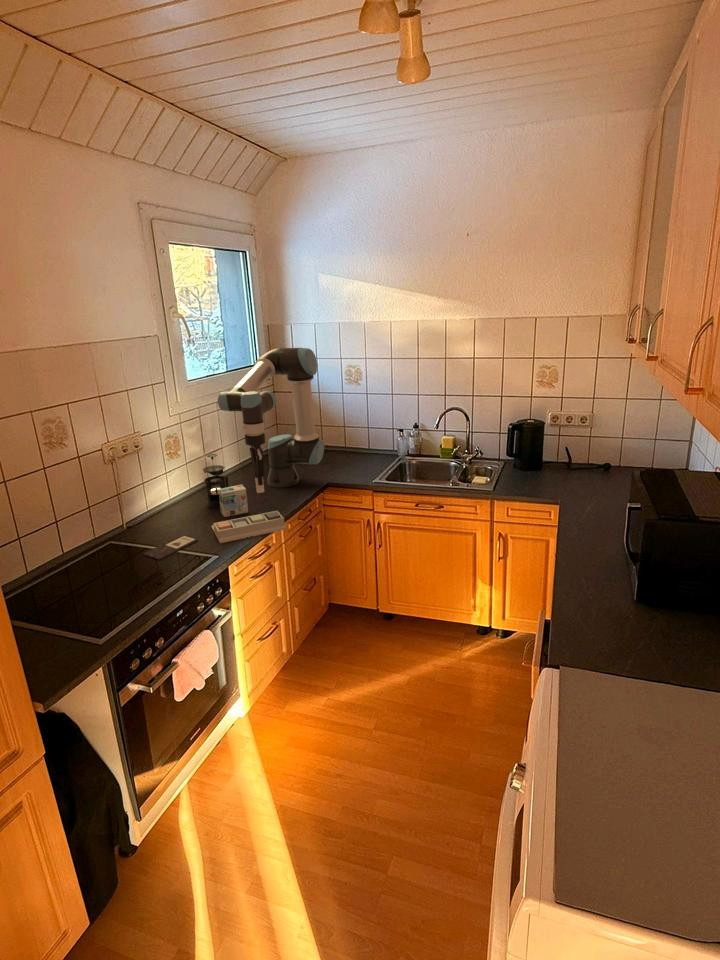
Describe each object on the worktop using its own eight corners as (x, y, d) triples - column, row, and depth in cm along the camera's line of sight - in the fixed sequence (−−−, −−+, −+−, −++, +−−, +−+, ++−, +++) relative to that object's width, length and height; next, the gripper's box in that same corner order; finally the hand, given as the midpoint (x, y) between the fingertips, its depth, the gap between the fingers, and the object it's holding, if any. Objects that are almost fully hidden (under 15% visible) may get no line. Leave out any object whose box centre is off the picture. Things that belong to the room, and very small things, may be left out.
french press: (215, 510, 241) (209, 459, 234) (201, 506, 247) (194, 456, 239) (236, 501, 250) (230, 452, 243) (222, 498, 256) (216, 449, 248)
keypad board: (274, 515, 234) (273, 506, 233) (286, 529, 220) (285, 519, 219) (211, 527, 224) (210, 518, 223) (220, 543, 210) (219, 533, 209)
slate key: (245, 524, 222) (245, 520, 221) (248, 528, 218) (247, 524, 217) (234, 526, 220) (233, 522, 220) (236, 530, 216) (236, 527, 216)
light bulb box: (224, 517, 234) (221, 493, 230) (220, 512, 240) (217, 488, 236) (249, 512, 238) (246, 488, 235) (244, 507, 244) (242, 484, 241)
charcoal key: (276, 515, 226) (276, 511, 226) (280, 519, 223) (279, 515, 222) (266, 517, 225) (265, 513, 224) (269, 521, 221) (268, 517, 220)
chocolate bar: (142, 553, 203) (181, 535, 217) (143, 556, 203) (182, 537, 217) (159, 559, 198) (197, 539, 212) (159, 561, 198) (198, 542, 213)
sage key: (261, 518, 224) (260, 514, 223) (264, 522, 220) (263, 518, 220) (250, 520, 222) (249, 516, 222) (253, 524, 218) (252, 520, 218)
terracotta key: (228, 524, 219) (228, 521, 218) (231, 528, 215) (230, 525, 214) (217, 527, 217) (216, 523, 217) (219, 531, 213) (219, 527, 213)
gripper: (240, 430, 215) (247, 488, 223) (248, 438, 203) (255, 499, 211) (260, 428, 218) (265, 485, 226) (268, 436, 206) (274, 495, 214)
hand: (260, 491), depth 219 cm, fingers closed
